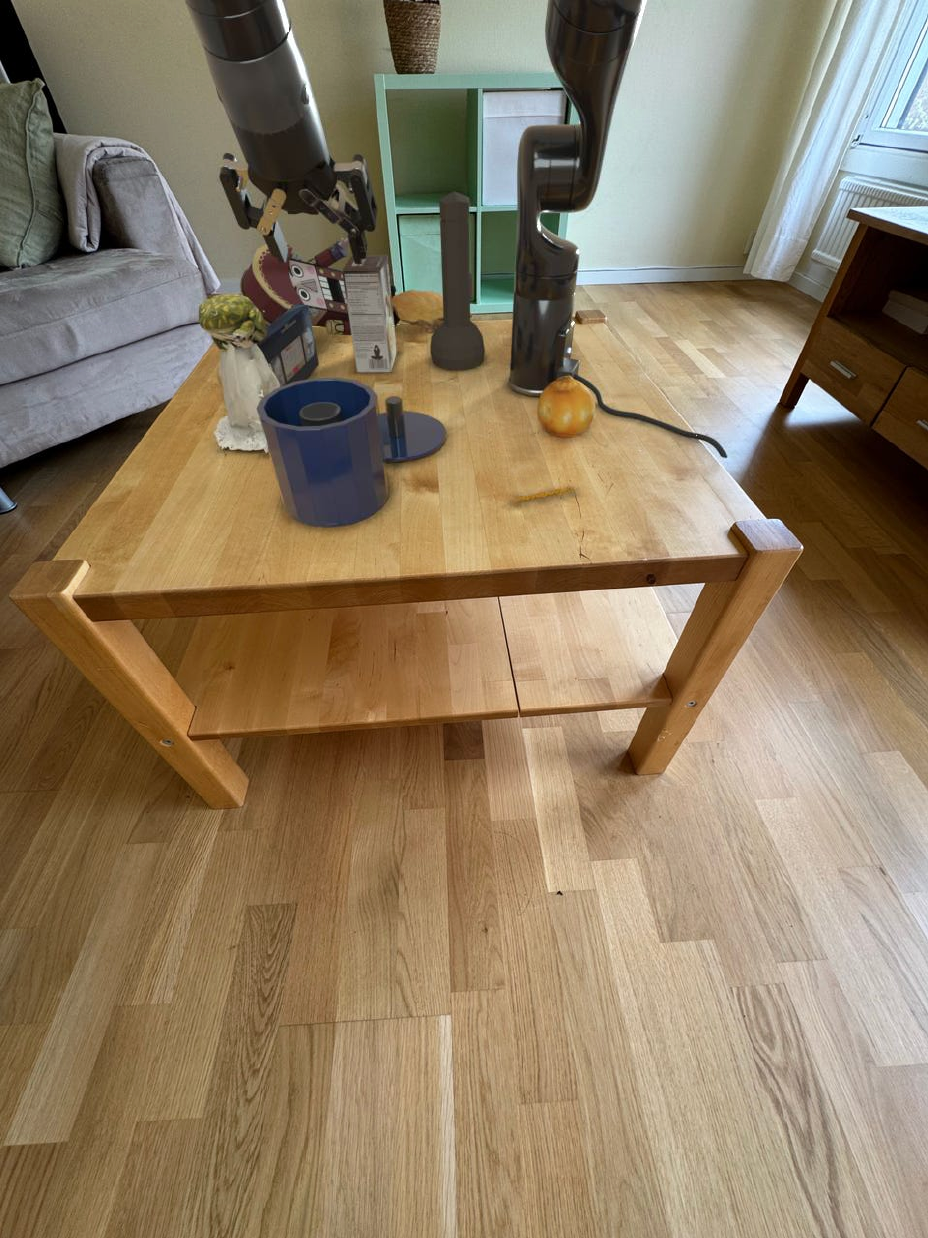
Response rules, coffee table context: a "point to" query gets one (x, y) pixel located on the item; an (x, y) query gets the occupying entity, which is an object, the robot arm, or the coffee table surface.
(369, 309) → the coffee box
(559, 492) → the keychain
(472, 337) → the flashlight
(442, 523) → the coffee table surface
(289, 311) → the vhs cassette tape
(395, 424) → the lid
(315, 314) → the toy
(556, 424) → the fruit
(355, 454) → the tin
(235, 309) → the frog
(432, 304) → the orange wide rounded piece
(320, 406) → the pill bottle
